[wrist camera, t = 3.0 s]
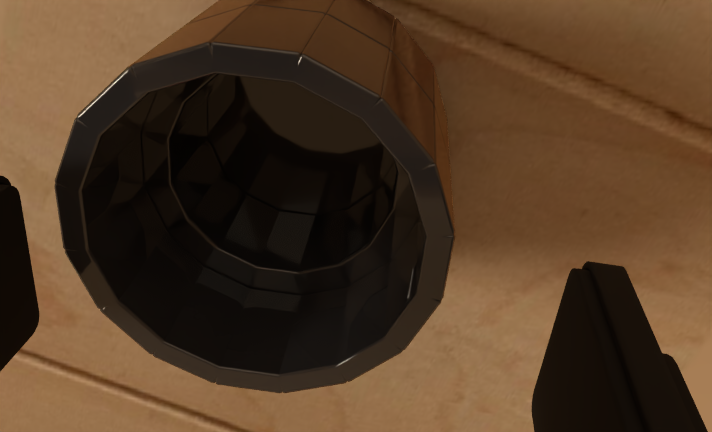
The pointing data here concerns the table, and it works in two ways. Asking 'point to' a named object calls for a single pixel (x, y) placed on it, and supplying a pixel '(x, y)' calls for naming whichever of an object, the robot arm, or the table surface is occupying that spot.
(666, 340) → the table surface
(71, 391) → the table surface
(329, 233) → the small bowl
